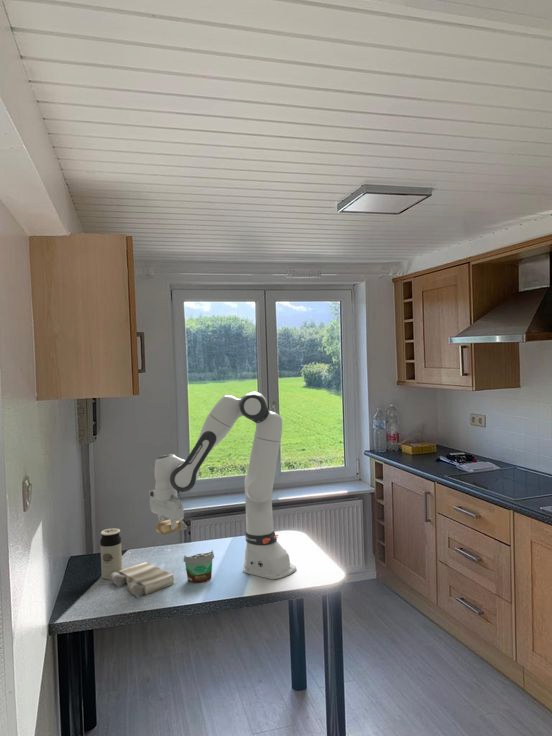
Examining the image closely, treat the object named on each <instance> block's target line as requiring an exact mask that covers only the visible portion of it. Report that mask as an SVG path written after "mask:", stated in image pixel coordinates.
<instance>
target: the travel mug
mask: <svg viewBox="0 0 552 736" xmlns="http://www.w3.org/2000/svg"><path fill="white" fill-rule="evenodd" d="M120 532H121V529H120V528H106V529H104V530H103V529H102V531H101V532H100V535H101V538H100V542H99V544H100V568H101V578H103V579H105V580H110V579H109V577H110V575H111V574H112V573H113V572H116V573H118V572H119V571H120V570H123V556H122V537H121V535H120Z"/></svg>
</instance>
